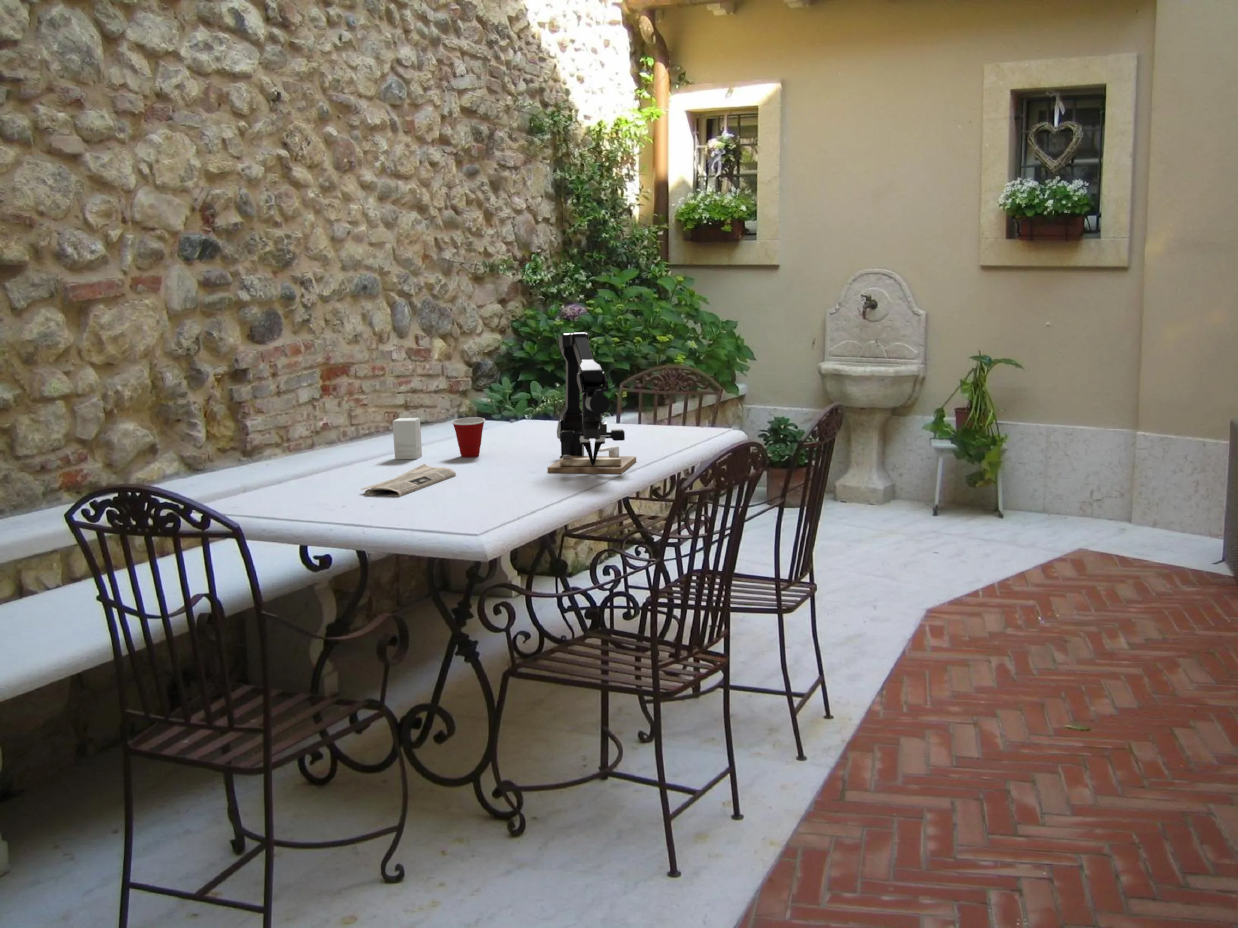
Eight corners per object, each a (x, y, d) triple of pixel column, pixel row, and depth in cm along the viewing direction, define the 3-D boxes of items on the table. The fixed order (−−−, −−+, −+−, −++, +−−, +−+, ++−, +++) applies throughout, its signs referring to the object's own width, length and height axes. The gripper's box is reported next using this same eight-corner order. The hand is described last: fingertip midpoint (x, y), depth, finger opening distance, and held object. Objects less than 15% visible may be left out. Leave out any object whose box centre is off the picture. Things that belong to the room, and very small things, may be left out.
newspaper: (399, 498, 310) (399, 485, 310) (357, 496, 314) (357, 483, 314) (458, 476, 344) (457, 464, 343) (419, 475, 347) (419, 463, 347)
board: (547, 472, 345) (547, 467, 345) (566, 460, 367) (566, 455, 367) (621, 473, 340) (621, 468, 340) (636, 461, 363) (636, 456, 362)
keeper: (601, 460, 356) (601, 449, 355) (596, 459, 357) (596, 448, 357) (619, 457, 361) (618, 446, 360) (613, 456, 363) (613, 445, 362)
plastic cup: (447, 458, 377) (445, 421, 375) (461, 453, 387) (459, 417, 385) (478, 459, 374) (477, 421, 372) (491, 454, 384) (490, 417, 382)
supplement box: (422, 456, 383) (421, 417, 381) (416, 459, 375) (414, 420, 373) (400, 456, 383) (398, 417, 381) (394, 459, 376) (392, 420, 374)
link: (559, 465, 345) (558, 456, 345) (561, 463, 349) (560, 454, 349) (620, 465, 343) (620, 456, 343) (621, 463, 347) (621, 454, 347)
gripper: (558, 414, 333) (559, 469, 335) (624, 413, 333) (625, 467, 335) (560, 411, 345) (561, 464, 346) (624, 410, 345) (625, 463, 346)
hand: (593, 465), depth 343 cm, fingers closed, pressing on link
